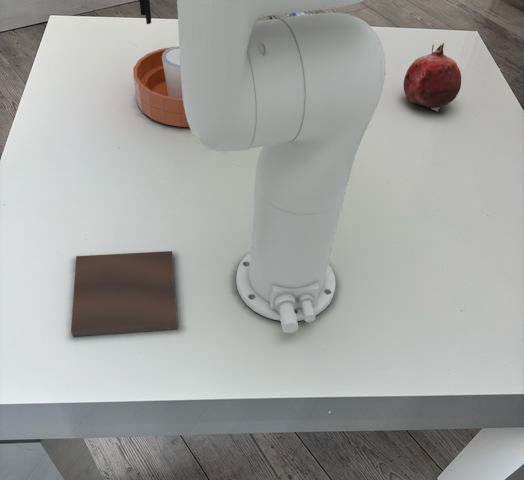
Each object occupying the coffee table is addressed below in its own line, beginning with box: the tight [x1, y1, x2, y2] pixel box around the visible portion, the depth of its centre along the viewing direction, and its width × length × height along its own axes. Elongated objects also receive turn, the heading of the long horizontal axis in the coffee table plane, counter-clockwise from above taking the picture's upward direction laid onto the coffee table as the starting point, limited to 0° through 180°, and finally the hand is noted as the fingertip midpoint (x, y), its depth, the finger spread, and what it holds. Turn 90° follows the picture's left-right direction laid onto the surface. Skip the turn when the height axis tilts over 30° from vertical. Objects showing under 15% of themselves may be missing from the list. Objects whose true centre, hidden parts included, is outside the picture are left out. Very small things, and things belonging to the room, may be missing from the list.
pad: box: [70, 250, 178, 338], centre depth 66 cm, size 12×12×1 cm
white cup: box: [162, 45, 183, 98], centre depth 88 cm, size 7×7×7 cm
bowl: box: [132, 46, 190, 128], centre depth 90 cm, size 16×16×5 cm
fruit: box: [403, 42, 462, 113], centre depth 92 cm, size 9×10×10 cm
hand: (181, 19), depth 81 cm, fingers open, 9 cm apart
